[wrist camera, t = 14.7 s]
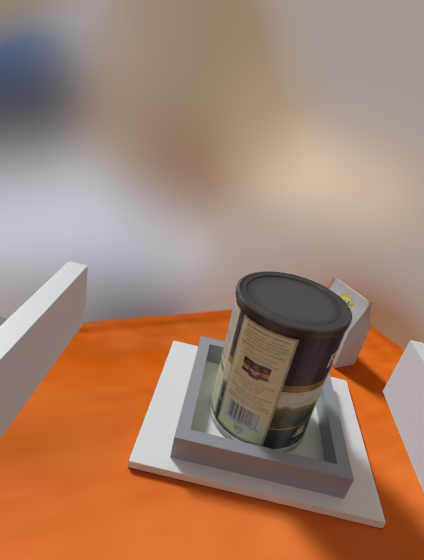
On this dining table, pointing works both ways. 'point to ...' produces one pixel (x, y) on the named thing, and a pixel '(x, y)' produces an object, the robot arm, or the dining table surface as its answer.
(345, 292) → the white printed box
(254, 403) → the coffee can
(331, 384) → the caddy
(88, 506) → the dining table surface
